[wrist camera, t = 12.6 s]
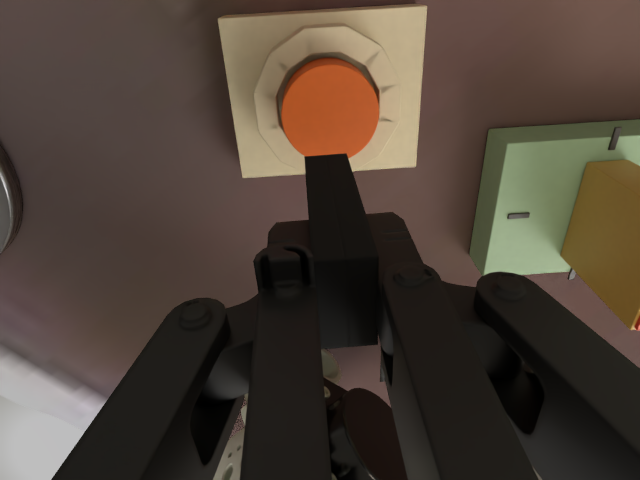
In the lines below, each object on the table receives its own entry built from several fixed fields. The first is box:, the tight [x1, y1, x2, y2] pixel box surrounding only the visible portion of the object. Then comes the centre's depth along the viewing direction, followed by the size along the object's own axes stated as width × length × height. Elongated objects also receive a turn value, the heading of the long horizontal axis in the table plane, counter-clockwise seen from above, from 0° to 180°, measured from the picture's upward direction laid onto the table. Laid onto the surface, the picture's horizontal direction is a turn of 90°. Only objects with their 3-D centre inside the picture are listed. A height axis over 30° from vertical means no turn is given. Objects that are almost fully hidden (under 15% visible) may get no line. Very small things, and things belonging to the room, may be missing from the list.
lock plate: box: [469, 119, 640, 280], centre depth 30 cm, size 13×11×3 cm
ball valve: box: [213, 349, 408, 480], centre depth 32 cm, size 18×8×18 cm, turn 138°
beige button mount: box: [218, 4, 427, 178], centre depth 25 cm, size 11×9×4 cm
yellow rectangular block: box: [560, 160, 640, 330], centre depth 25 cm, size 7×3×8 cm, turn 3°
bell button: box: [281, 58, 379, 158], centre depth 23 cm, size 5×5×2 cm
